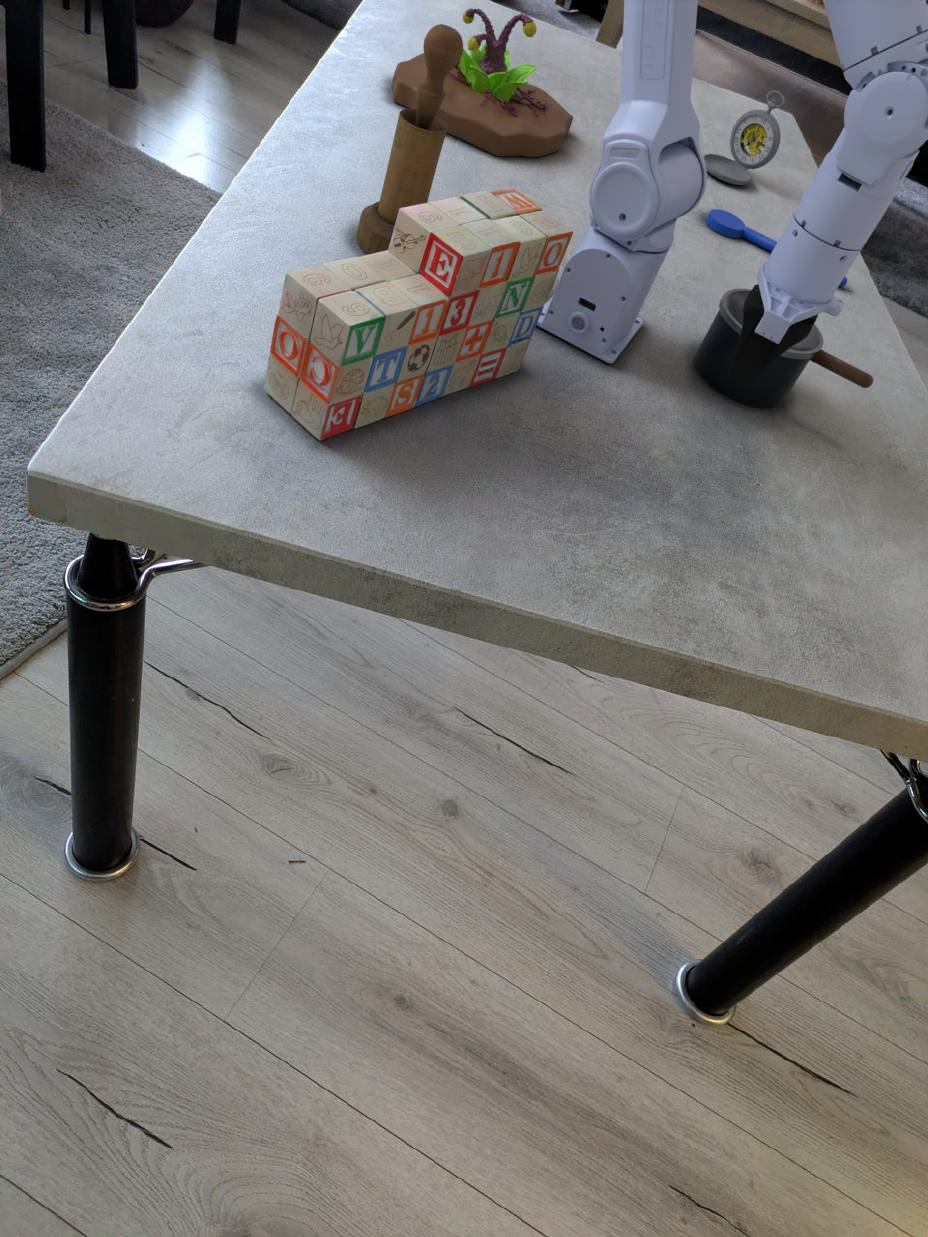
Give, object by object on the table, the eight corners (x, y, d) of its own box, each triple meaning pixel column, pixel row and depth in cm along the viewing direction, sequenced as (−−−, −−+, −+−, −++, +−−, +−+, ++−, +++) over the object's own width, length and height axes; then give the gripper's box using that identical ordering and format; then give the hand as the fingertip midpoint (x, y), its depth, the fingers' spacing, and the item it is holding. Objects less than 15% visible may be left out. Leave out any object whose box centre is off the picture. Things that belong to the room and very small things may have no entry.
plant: (514, 174, 105) (551, 64, 97) (364, 90, 108) (388, -24, 100) (587, 136, 119) (625, 37, 111) (453, 63, 122) (480, -39, 114)
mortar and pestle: (346, 223, 87) (395, 0, 74) (413, 230, 90) (471, 17, 77) (367, 265, 83) (423, 38, 71) (437, 271, 86) (502, 54, 74)
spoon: (846, 281, 113) (852, 272, 112) (840, 295, 109) (846, 285, 109) (711, 212, 114) (715, 203, 113) (701, 224, 111) (706, 214, 110)
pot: (831, 454, 85) (872, 398, 81) (679, 373, 87) (710, 314, 83) (847, 406, 92) (885, 352, 88) (705, 332, 94) (735, 275, 89)
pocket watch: (697, 173, 122) (737, 90, 115) (701, 150, 128) (739, 70, 121) (758, 198, 122) (801, 117, 115) (759, 175, 128) (800, 96, 121)
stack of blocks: (319, 445, 66) (359, 280, 57) (260, 391, 68) (290, 224, 59) (520, 370, 79) (577, 228, 71) (466, 327, 81) (515, 183, 73)
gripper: (864, 287, 68) (765, 440, 78) (887, 225, 78) (797, 367, 88) (772, 240, 69) (685, 398, 78) (808, 185, 79) (727, 330, 89)
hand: (739, 379), depth 83 cm, fingers closed
